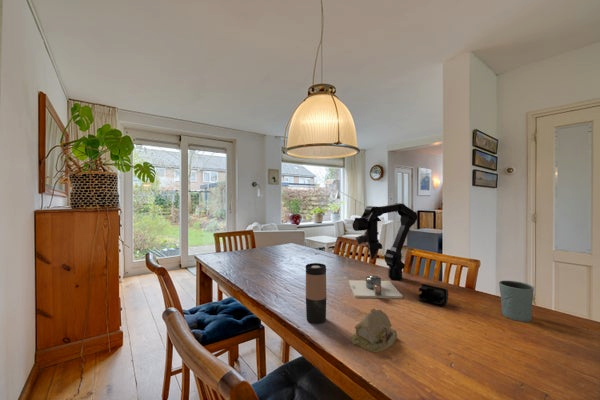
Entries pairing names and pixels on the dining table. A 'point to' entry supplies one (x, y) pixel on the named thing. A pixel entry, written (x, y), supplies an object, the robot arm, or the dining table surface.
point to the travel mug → (316, 293)
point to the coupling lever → (374, 283)
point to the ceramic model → (374, 332)
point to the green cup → (516, 300)
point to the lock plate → (364, 292)
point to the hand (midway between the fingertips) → (372, 259)
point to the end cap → (433, 295)
